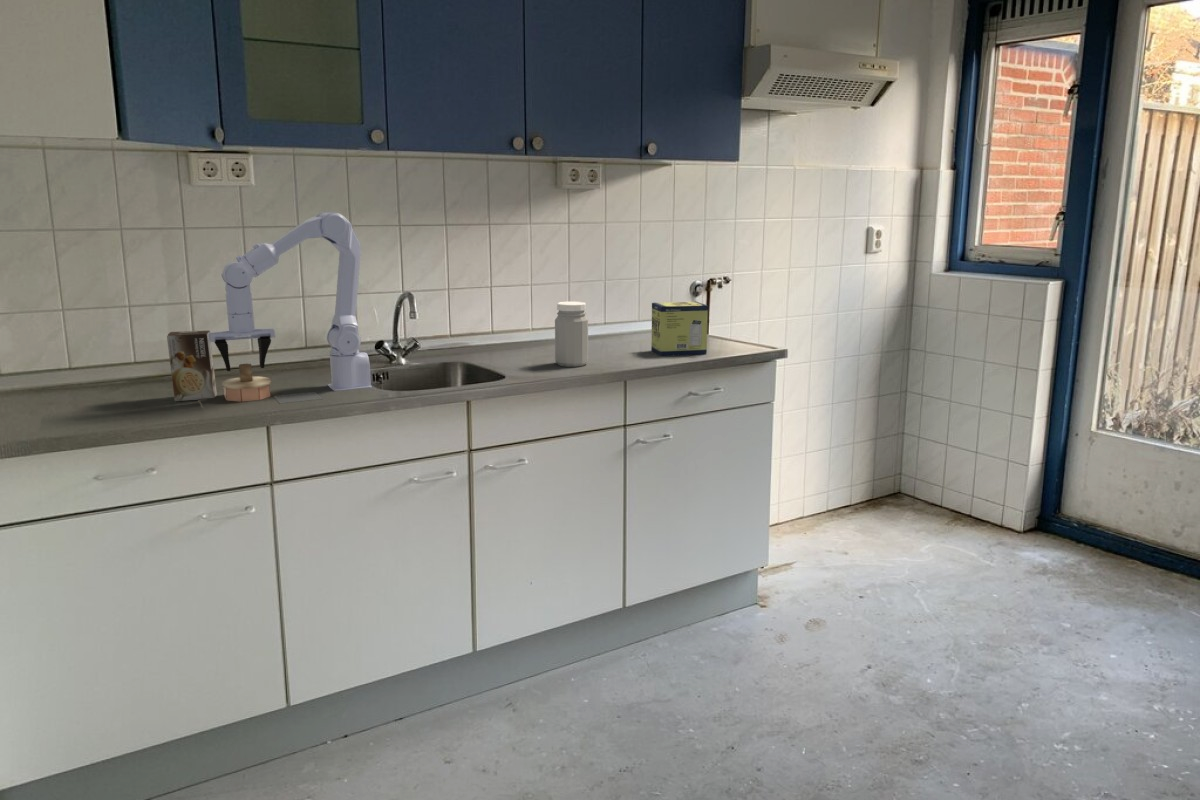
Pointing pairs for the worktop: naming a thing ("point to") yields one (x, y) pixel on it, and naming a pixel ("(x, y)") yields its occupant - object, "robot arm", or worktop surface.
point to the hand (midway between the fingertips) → (245, 369)
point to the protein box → (679, 328)
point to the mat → (297, 397)
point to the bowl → (247, 394)
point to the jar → (571, 334)
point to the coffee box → (191, 365)
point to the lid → (246, 379)
